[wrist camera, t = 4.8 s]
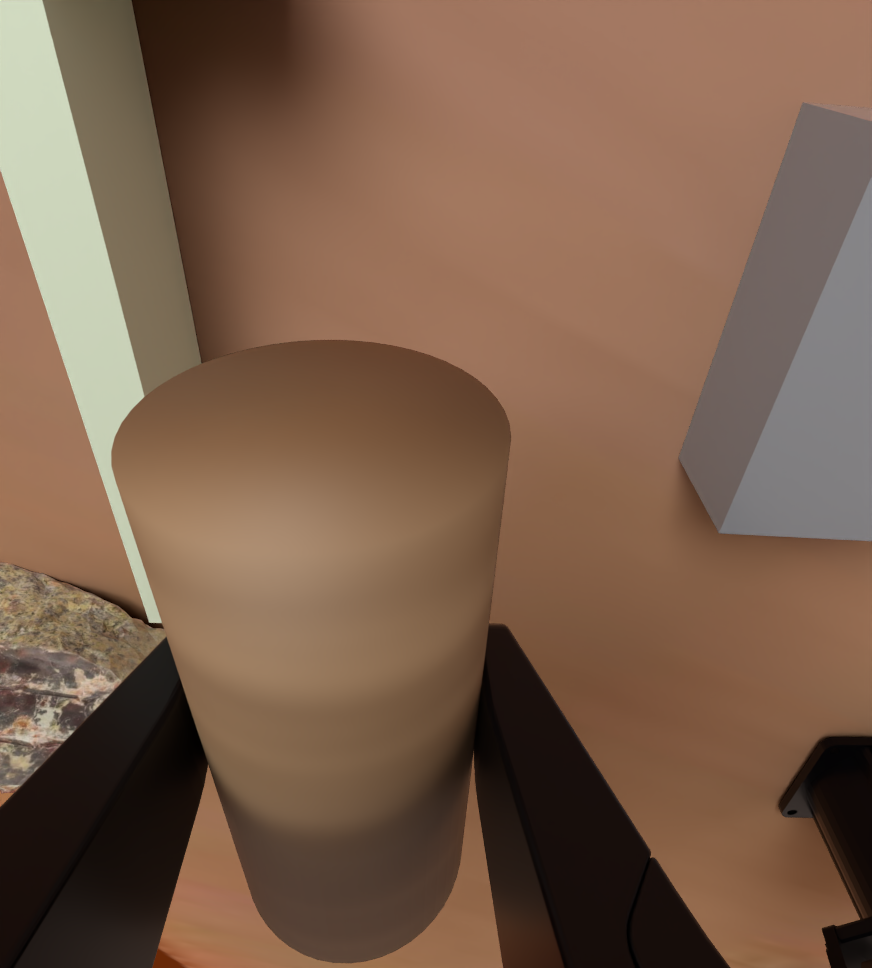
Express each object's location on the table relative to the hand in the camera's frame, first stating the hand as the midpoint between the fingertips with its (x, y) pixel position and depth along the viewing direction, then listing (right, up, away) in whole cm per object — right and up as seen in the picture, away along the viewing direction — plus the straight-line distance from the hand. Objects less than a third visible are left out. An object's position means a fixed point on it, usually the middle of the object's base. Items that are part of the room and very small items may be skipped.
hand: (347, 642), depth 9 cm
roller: (0, +1, +1) cm, 1 cm away
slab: (+13, +7, +10) cm, 18 cm away
